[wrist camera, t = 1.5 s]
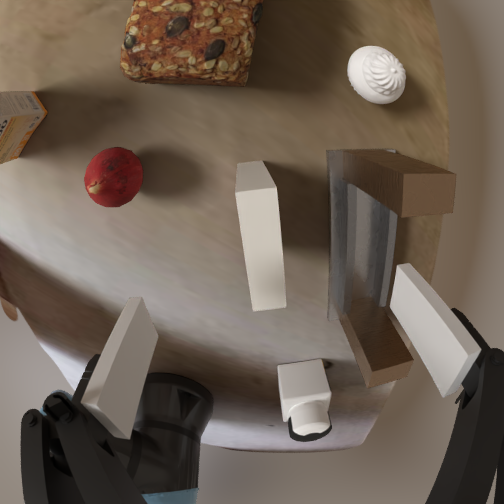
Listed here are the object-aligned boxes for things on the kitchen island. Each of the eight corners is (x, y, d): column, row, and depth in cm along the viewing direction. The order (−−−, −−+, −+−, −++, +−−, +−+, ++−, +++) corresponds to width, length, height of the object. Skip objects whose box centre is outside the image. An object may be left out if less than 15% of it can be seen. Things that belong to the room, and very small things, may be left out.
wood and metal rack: (379, 307, 36) (417, 373, 25) (327, 317, 37) (354, 391, 25) (391, 148, 26) (468, 174, 15) (326, 150, 27) (384, 174, 15)
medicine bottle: (319, 382, 44) (333, 440, 33) (279, 388, 44) (286, 448, 33) (322, 357, 40) (340, 420, 30) (277, 364, 40) (285, 430, 30)
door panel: (271, 240, 31) (286, 307, 20) (248, 243, 31) (253, 311, 20) (262, 160, 27) (276, 187, 16) (237, 163, 27) (235, 192, 16)
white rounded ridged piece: (379, 114, 25) (414, 116, 19) (329, 91, 24) (355, 83, 18) (393, 68, 22) (428, 60, 16) (344, 43, 21) (372, 25, 15)
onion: (126, 132, 25) (89, 139, 18) (163, 168, 27) (136, 185, 20) (96, 172, 26) (57, 191, 19) (130, 205, 28) (99, 234, 21)
